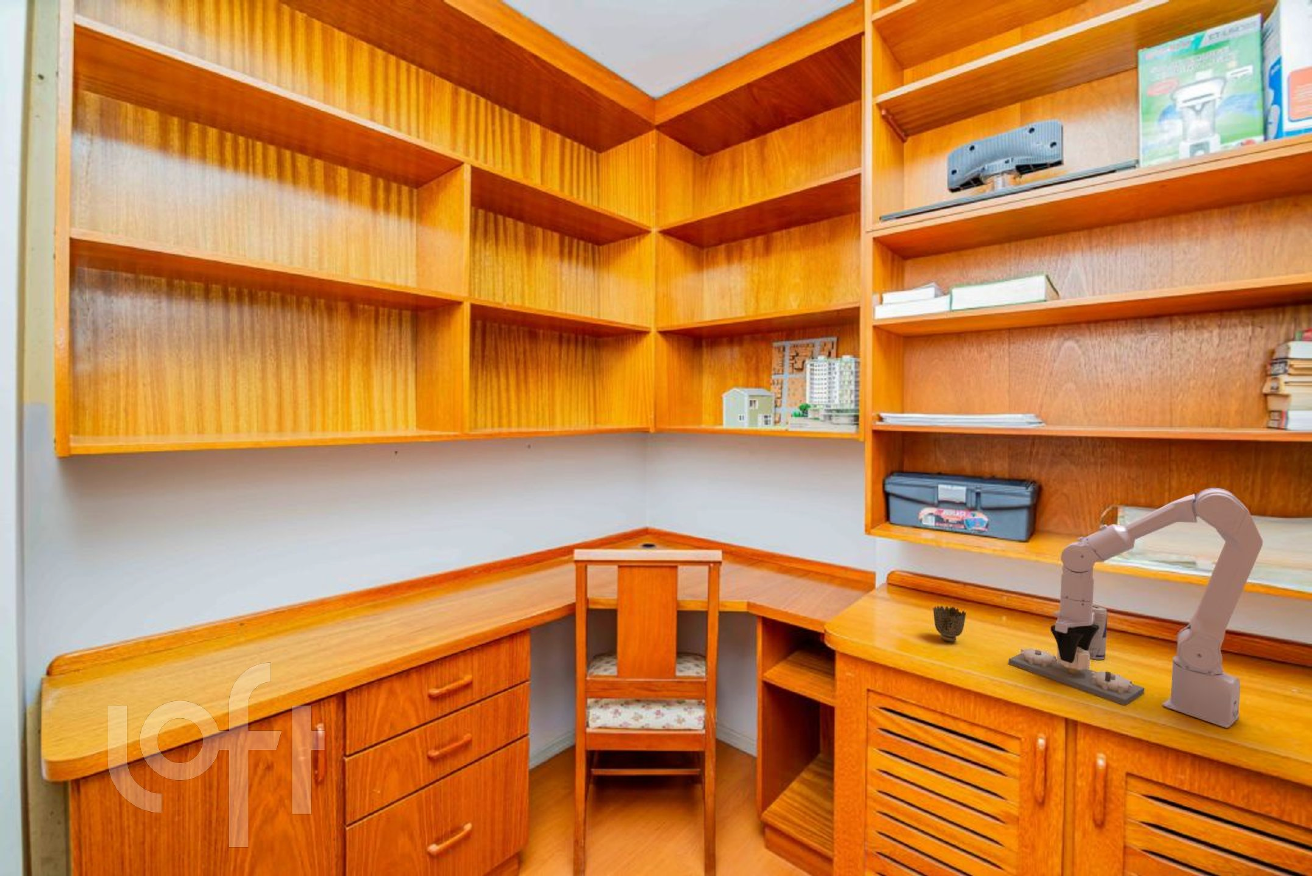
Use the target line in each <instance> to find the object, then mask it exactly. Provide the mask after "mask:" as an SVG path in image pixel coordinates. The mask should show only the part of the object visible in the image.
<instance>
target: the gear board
mask: <svg viewBox="0 0 1312 876" xmlns="http://www.w3.org/2000/svg"><path fill="white" fill-rule="evenodd" d="M1007 662H1008V665H1010V666H1013V667H1016V668H1018V667H1019V668H1020V669H1022V670H1025V671H1028V672H1029V673H1032V674H1035V675H1039V676H1040V677H1045V678H1047V679H1049V678H1050V679H1049V680H1052V681H1055V682H1058V683H1061V684H1063V685H1067V686H1069V687H1072V688H1074V689H1077V690H1080V691H1083V692H1086V693H1088V694H1090V695H1091V694H1092V695H1094V696H1097V697H1099V698H1102V699H1105V700H1108V701H1110V702H1114V703H1116V704H1119V705H1122V706H1127V705H1129V704H1130V703H1132V702H1133V701H1135V700H1136V699H1138V698H1139V697H1141V696H1142V695H1144V694H1145V687H1144V686H1143V687H1142V686H1140V685H1137V684H1133V683H1132V680H1130V679H1127V678H1125V677H1123V676H1121V675H1120V674H1115V673H1112V672H1110V671H1103V670H1101V671H1098V672H1097V671H1095V670H1091V669H1090V668H1089V669H1088V670H1087V669H1082V670H1077V669H1074V668H1068V667H1065V666H1064V665H1062V664H1059V663H1058V662H1057V655H1055V654H1054V655H1053V654H1051V653H1048V652H1047V651H1046V650H1039V649H1035V648H1033V647H1032V648H1031V647H1029V648H1026V649H1025V648H1021V649H1020V653H1019V654H1017V655H1015V656H1011V658H1008V661H1007Z"/></svg>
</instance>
